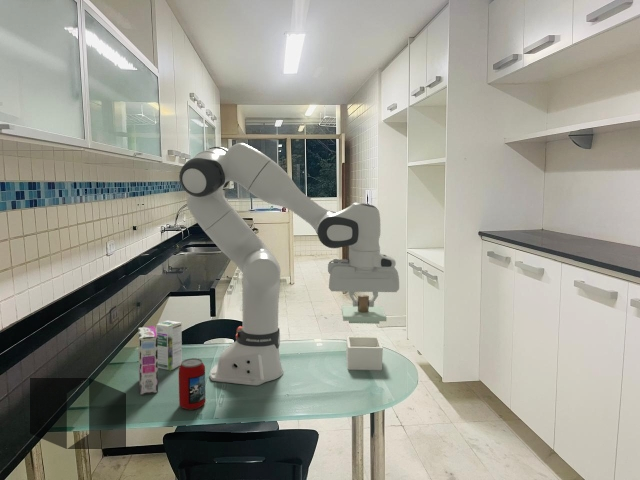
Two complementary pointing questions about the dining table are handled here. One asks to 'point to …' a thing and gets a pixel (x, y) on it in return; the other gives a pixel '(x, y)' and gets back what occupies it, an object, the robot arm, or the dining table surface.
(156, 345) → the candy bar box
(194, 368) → the beverage can
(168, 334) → the syrup box
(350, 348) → the tub
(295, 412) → the dining table surface
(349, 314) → the lid
